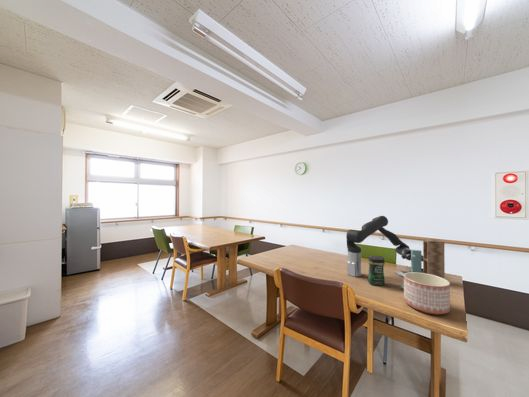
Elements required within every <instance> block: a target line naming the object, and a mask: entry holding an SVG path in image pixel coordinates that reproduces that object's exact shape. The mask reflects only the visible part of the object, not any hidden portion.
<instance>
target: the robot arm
mask: <svg viewBox="0 0 529 397" xmlns="http://www.w3.org/2000/svg"><path fill="white" fill-rule="evenodd" d="M388 225H389V219H388V218H387V217H386V216H385V215H379V216H377V217H374V218H372V219H371V221H368V222H366V223H363V225H362V226H361V230H358V229H357V230H356V229H348V230H347V232H346V234H345V235H346V248H347V262H346V263H347V264H346V266H347V268H346V270H347V271H346V272H347V273H346V274H347V275H348V276H351V277H361V276H362V249H361V247H360V246H358V245H357V244H361V243H363V242H364V241H365V240H366V239H367V238H368V237H369V236H372V235H373V234H374V233H376V232H377V231H379V232H380V233H381V234H382V235H383V236H384V237H386V238H387V240H389V242H390V243H391V244H392V245H393V246H395V252H396V253H397V254H398V255H400V257H401V258H402V259H403V260H407V261H410V262H411V250H412V249H411V248H410V246H409V245H407V244H406V242H403V241H402V240H401V239H400V238H399V237H398V235H397V234H396V233H394V232H392V231H390V230H387V229H386V228H385V227H386V226H388ZM421 259H422V263H423V254H421Z"/></svg>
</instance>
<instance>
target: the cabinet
mask: <svg viewBox="0 0 529 397" xmlns="http://www.w3.org/2000/svg"><path fill="white" fill-rule="evenodd" d="M422 241H423V242H422V245H423V246H422V255H423V262H422V264H423V265H422V267H423V268H422V273H426V274H431V275H435V276H438V277H441V278H444V279H446V278H445V276H446V274H445V271H446V270H445V268H446V267H445V265H446V264H445V263H446V262H445V241H443V240H440V239H429V238H423V239H422ZM400 272H401V273H404V274H405V273H409V272H411V269H408V271H403V270H401V271H400Z"/></svg>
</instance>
